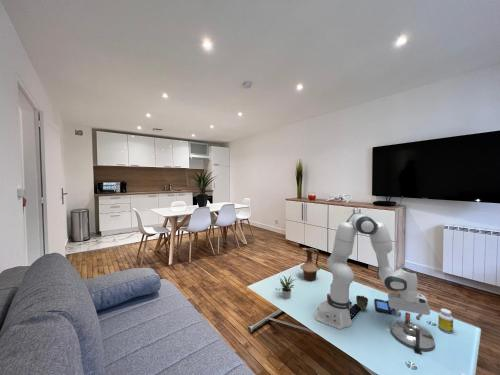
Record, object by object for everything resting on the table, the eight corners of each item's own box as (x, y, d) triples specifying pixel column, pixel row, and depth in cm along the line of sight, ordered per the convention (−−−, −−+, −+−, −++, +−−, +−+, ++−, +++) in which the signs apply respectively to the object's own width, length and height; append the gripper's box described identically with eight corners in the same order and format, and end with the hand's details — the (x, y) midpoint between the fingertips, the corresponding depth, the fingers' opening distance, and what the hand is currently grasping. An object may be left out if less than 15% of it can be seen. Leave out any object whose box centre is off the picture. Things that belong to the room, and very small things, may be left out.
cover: (405, 334, 118) (405, 326, 118) (402, 326, 125) (402, 318, 124) (420, 338, 115) (420, 329, 115) (416, 330, 122) (416, 321, 121)
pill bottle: (449, 335, 121) (449, 315, 120) (435, 327, 127) (436, 309, 126) (455, 331, 123) (455, 312, 123) (441, 324, 129) (442, 306, 129)
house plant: (296, 292, 169) (296, 272, 168) (298, 302, 155) (298, 281, 155) (278, 291, 170) (278, 272, 170) (279, 301, 157) (279, 280, 156)
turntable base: (394, 344, 115) (394, 343, 115) (387, 321, 133) (387, 320, 133) (441, 356, 107) (441, 355, 107) (427, 330, 125) (427, 329, 125)
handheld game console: (374, 300, 157) (374, 288, 157) (395, 304, 151) (395, 292, 150) (375, 312, 143) (375, 298, 143) (399, 317, 137) (399, 304, 136)
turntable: (394, 342, 115) (394, 328, 115) (388, 320, 133) (388, 308, 132) (440, 354, 107) (441, 339, 106) (427, 328, 125) (427, 316, 124)
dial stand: (414, 352, 109) (414, 330, 109) (410, 342, 116) (410, 321, 116) (422, 355, 108) (422, 332, 107) (417, 344, 115) (418, 323, 114)
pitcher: (321, 276, 196) (320, 246, 195) (319, 284, 181) (319, 252, 179) (302, 273, 203) (301, 244, 202) (298, 281, 188) (298, 250, 187)
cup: (357, 304, 151) (357, 293, 151) (368, 308, 147) (369, 297, 146) (354, 309, 146) (354, 298, 145) (366, 313, 141) (366, 302, 141)
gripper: (388, 294, 128) (389, 316, 129) (431, 301, 120) (431, 325, 120) (387, 289, 134) (387, 310, 135) (427, 296, 125) (427, 318, 126)
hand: (408, 317), depth 127 cm, fingers open, 8 cm apart
